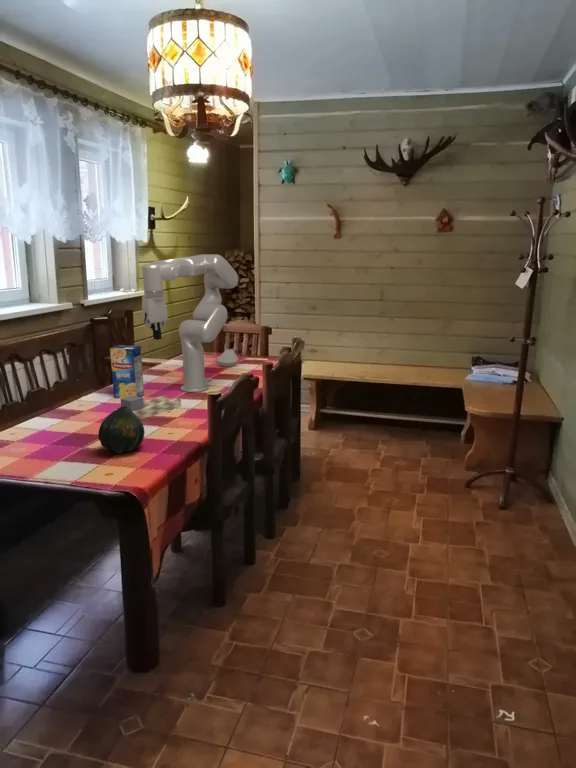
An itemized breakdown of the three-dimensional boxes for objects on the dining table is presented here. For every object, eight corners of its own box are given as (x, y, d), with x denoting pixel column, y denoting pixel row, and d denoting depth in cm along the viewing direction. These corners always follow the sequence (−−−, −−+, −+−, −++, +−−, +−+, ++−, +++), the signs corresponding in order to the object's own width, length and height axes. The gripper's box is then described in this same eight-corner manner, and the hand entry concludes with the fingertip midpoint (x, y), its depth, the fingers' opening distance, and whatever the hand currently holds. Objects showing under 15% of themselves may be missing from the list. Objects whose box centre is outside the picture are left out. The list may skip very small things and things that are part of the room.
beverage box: (136, 399, 260) (133, 349, 255) (113, 397, 263) (109, 348, 257) (144, 395, 266) (140, 346, 261) (121, 393, 269) (118, 345, 264)
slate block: (134, 410, 238) (133, 395, 237) (144, 412, 235) (143, 397, 233) (121, 413, 234) (120, 398, 232) (131, 416, 230) (130, 401, 229)
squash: (92, 444, 188) (122, 405, 190) (87, 432, 202) (115, 396, 203) (129, 468, 194) (158, 430, 196) (122, 454, 208) (149, 419, 209)
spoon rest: (237, 368, 319) (237, 355, 317) (215, 368, 319) (214, 355, 317) (241, 359, 342) (240, 347, 340) (220, 359, 342) (219, 347, 340)
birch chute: (165, 403, 253) (165, 395, 252) (181, 406, 248) (180, 398, 247) (114, 418, 233) (113, 409, 232) (129, 422, 228) (129, 413, 227)
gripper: (161, 292, 254) (164, 335, 259) (133, 296, 243) (137, 341, 248) (173, 293, 250) (177, 337, 255) (145, 297, 239) (149, 343, 243)
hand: (157, 339), depth 251 cm, fingers closed
